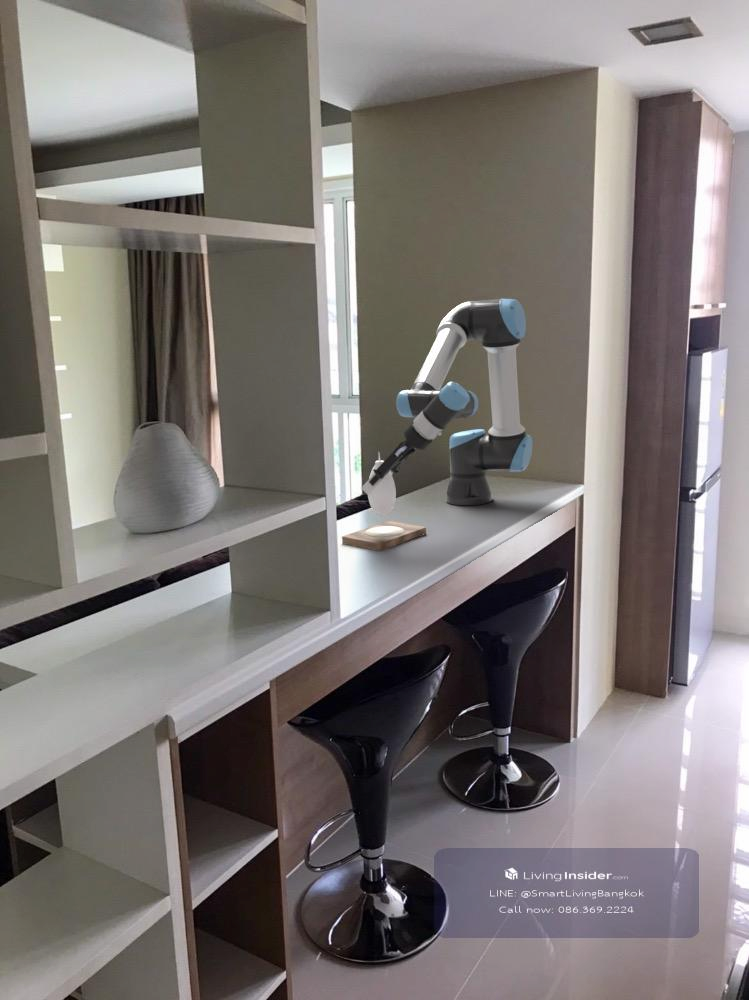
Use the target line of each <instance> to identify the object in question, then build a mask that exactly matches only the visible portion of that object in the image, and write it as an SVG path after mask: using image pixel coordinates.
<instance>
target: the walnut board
mask: <svg viewBox="0 0 749 1000" xmlns="http://www.w3.org/2000/svg"><path fill="white" fill-rule="evenodd" d="M423 534H425V535H427V526H421V525H415V524H409V523H404V522H398V521H392V520H388V521H385V522H382V523H379V524H375V525H373V526H370V527H369V526H368V527H366V528H362V529H361V530H358V531H354V532H351V533H348V534H345V535H343V536H341V540H342V541H341V543H342V544H343V545H348V544H351V545H350V546H353V545H354V547H358V546H359V547H360V548H363V549H368V550H373V551H379V552H381V551H384V550H386V549H389V548H391V547H394V546H397V544H398V545H401V544H403V543H406V542H408V541H407V540H409V541H411V540H413V539H412V538H414V537H417V536H420V535H422V536H424V535H423ZM420 537H421V536H420ZM417 538H418V537H417ZM410 539H411V540H410ZM414 539H415V538H414ZM405 541H406V542H405ZM402 542H403V543H402ZM344 543H346V544H344ZM383 549H384V550H383Z"/></svg>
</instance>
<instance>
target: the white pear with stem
mask: <svg viewBox="0 0 749 1000" xmlns="http://www.w3.org/2000/svg"><path fill="white" fill-rule="evenodd" d="M384 461H385V460H381V455H380V452H378V460H376V461H375V462H374V466H373V467H372V469H371V472H370V474H369V478H368V480H369V479H370V478H371V476H372V475H373V474H374V471H373V470H374V469H375V470H377V468H378V467H379V466H380V465H381V464H382V463H383V462H384ZM396 497H397V490H396V484H395V479H394V477H393V474H392V475H391V472H390V471H389V472H388V473H387V474H386V475H385V476H384V478H383V480H382V481H381V482H380V483H379V484H378V485H377V486H376V487H375V488H374V489H373V490H372V491H371V492H370V494H369V495H367V498H368V502H369V503H368V504H369V505H370V507H371V510H372V511H373V512H375V513H376V514H377V515H379V516H386V515H388V514H390V512H391V511H392V510H393V508H394V506H395V503H396Z"/></svg>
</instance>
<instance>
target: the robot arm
mask: <svg viewBox="0 0 749 1000" xmlns="http://www.w3.org/2000/svg"><path fill="white" fill-rule="evenodd" d="M437 327H438V328H437V329H436V333H435V334H436V335H435V336H436V338H435V341H434V342H433V344H432V346H431V348H430V350H429V353H428V354H427V356H426V359H425V361H424V362H423V365H422V366H421V368H420V370H419V372H418V375H417V376H416V378H415V380H414V383H413V384H412V386H411V388H410V390H409V389H406V390H401V391H400V392H398V394H397V397H396V400H395V402H396V403H395V405H396V409H397V413H398V414H399V415H400V416H401V417H403V418H411V419H413V422H411V423H410V424H409V425H408V426H407V427H406V428H405V429H404V431H403V435H404V437H405V440H404V441H401V442H400V443H399V444H398V446H397V447H395V448H394V450H393V451H392V453H390V455H389V456H387V458H385V460H383V461H384V462H383V463H382V464H381V465H380V466H379V467H378V468H377V470H375V469H374V470H373V471H374V474H373V475H372V476H371V478H370V479H369V478H368V479H367V481H366V482H365V483H364V484H363V485H362V486H361V487H360V489H361V490H362V491H364V493H365V494H366V495H367V496H368V495H369V494H370V492H371V491H372V490H373V489H374V488H375V487H376V486H377V485H378V484H379V483H380V482H381V481H382V480H383V478H384V476H385V475H386V474H387V473H388V472H389V471H390V472H391V475H392V476H393V474H395V475H397V474H398V473H399V469H400V468H401V467H402V466H403V464H404V463H405V462H406V461H407V460H408V459H409V458H411V456H412V455H413V454H414V453H415V452H416V451H417V450H419V451H424V450H426V449H427V447H429V446H430V445H431V443H432V442H433V440H435V439H436V438H437V437H438V436H442V434H443V433H442V431H443V430H444V429H445V428H446V427H448V425H449V424H450V423H451V422H452V421H453V420H455V419H466V418H469V417H471V416H472V417H473V415H475V413H476V412H477V411H478V408H479V399H478V397H477V395H476V394H475V393H474V392H472V391H470V390H467V389H465V388H464V387H463V386H462V385H460V384H459V383H457V382H455V381H449V382H448V383H446V385H444V387H442V386H443V384H444V381H445V379H446V377H447V375H448V373H449V371H450V369H451V368H452V365H453V363H454V361H455V358H456V357H457V355H458V352H459V350H460V349H461V348H463V347H464V346H465V345H466V343H467V342H468V341H471V340H481V347H482V348H483V349H484V350H485V351H486V352H487V365H488V379H489V391H490V393H489V395H490V405H491V406H490V409H491V419H492V421H491V422H492V425H491V427H490V428H489V430H488V432H486V430H485V429H481V428H478V429H471V430H464V431H459V432H455V433H453V434H452V435H451V436H450V438H449V448H448V450H449V466H450V467H449V470H450V471H449V473H450V477H449V478H450V479H449V483H448V485H447V486H448V487H447V489H446V494H445V502H446V503H448V504H450V505H456V506H477V505H484V504H488V503H491V502H492V501H493V493H492V491H491V488H490V485H489V481H488V479H487V471H489V472H490V471H495V472H510V473H513V472H514V473H515V472H523V471H525V470H526V469H527V468H528V466H529V464H530V461H531V459H532V458H531V457H532V454H533V443H534V442H533V438H532V435H529V434H526V428H525V427H524V426H523V425H522V424H521V417H520V399H519V384H518V380H519V379H518V367H517V366H518V365H517V352H516V349H517V348H518V346H519V345H520V344H521V339H523V338H524V337H525V336H526V331H527V328H526V327H527V319H526V314H525V309H524V308H523V306H522V304H521V302H520V301H519V300H517V299H514V298H513V299H512V298H496V299H494V298H493V299H481V300H468V301H465V302H462V303H461V304H459V305H457V306H456V307H454V308H453V309H451V311H449V312H448V313H447V314H446V316H445V317H443V319H442V320H441V321H440V324H439V325H438V326H437ZM486 433H488V434H486Z"/></svg>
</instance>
